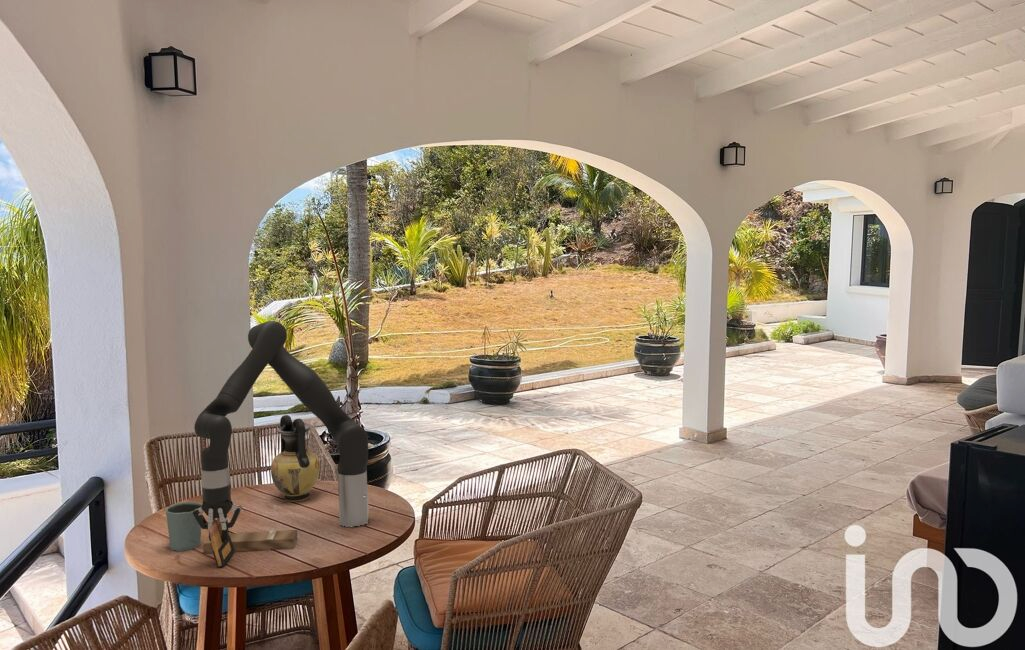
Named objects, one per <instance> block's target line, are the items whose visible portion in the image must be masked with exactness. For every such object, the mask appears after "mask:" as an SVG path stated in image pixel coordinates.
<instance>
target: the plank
mask: <svg viewBox="0 0 1025 650" xmlns="http://www.w3.org/2000/svg"><path fill="white" fill-rule="evenodd" d="M229 536H230V538H231V541H232V544H233V547H234V553H235V552H250V551H251V552H252V551H255V552H256V551H269V550H270V551H272V550H273V549H274V550H287V549H289V550H290V549H294V548H295V547H296V544H297V543H298V539H299V538H298V529H293V530H290V529H289V530H277V529H276V530H275V529H273V530H270V531H255V532H254V531H252V532H236V533H235V532H233V533H229ZM271 549H272V550H271ZM202 550H203V552H202V553H203V554H213V547H212V543H211V541H210V540H209V535H208V536H207V537H206V539H205V540H204V542H203V544H202Z"/></svg>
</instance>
